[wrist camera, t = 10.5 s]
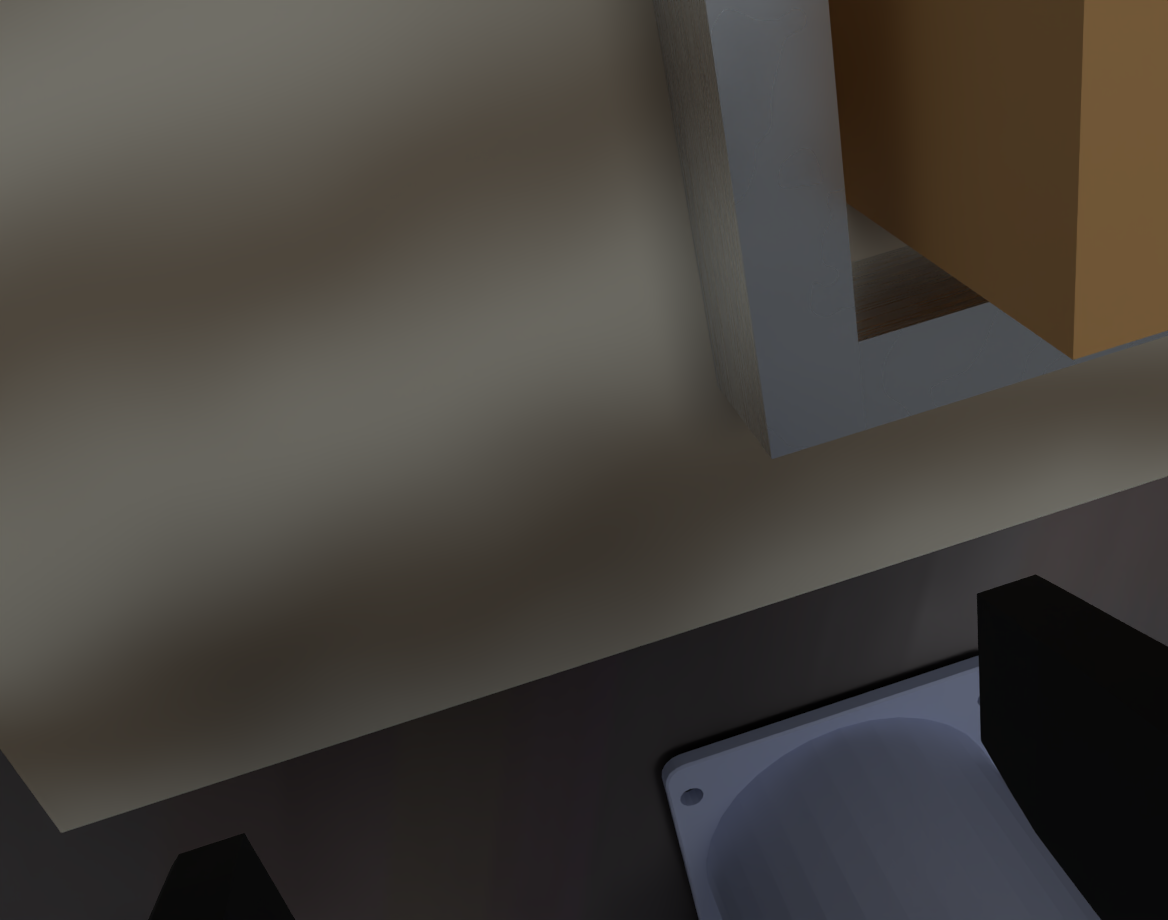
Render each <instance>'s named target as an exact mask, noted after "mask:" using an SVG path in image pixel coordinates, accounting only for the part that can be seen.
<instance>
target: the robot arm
mask: <svg viewBox="0 0 1168 920" xmlns="http://www.w3.org/2000/svg"><path fill="white" fill-rule="evenodd" d="M977 614H978V653H979V655H978V656H975V657H972V658H969V659H966V660H963V661H960V662H957V663H954V664H951V665H948V666H945V667H942V668H939V669H936V670H933V671H930V672H927V673H924V674H921V675H918V676H915V677H912V678H909V679H906V680H903V681H900V682H897V683H894V684H891V685H888V686H885V687H881V688H878V689H875V690H872V691H869V692H866V693H863V694H860V695H857V696H854V697H851V698H848V699H845V700H842V701H839V702H836V703H833V704H830V705H827V706H824V707H821V708H818V709H815V710H812V711H809V712H806V713H803V714H800V715H797V716H794V717H791V718H788V719H785V720H782V721H779V722H776V723H773V724H770V725H767V726H764V727H761V728H758V729H755V730H752V731H749V732H746V733H743V734H740V735H737V736H734V737H731V738H728V739H725V740H721V741H718V742H715V743H712V744H709V745H706V746H703V747H700V748H697V749H694V750H691V751H688V752H685V753H682V754H679V755H677V756H675V757H673V758H672V759H671V760H669V761H668V762H667V763H666V764H665V766H664V768H663V770H662V780H663V784H664V788H665V791H666V795H667V799H668V803H669V807H670V811H671V815H672V818H673V822H674V826H675V830H676V834H677V838H678V842H679V846H680V849H681V853H682V857H683V861H684V865H685V869H686V873H687V876H688V880H689V884H690V888H691V892H692V896H693V900H694V904H695V907H696V911H697V915H698V919H699V920H1168V647H1167V646H1165V645H1164V644H1162V643H1160V642H1158V641H1156V640H1154V639H1153V638H1151V637H1149V636H1147V635H1145V634H1143V633H1142V632H1140V631H1138V630H1136V629H1134V628H1132V627H1131V626H1129V625H1127V624H1125V623H1123V622H1121V621H1120V620H1118V619H1116V618H1114V617H1112V616H1111V615H1109V614H1107V613H1105V612H1103V611H1102V610H1100V609H1098V608H1096V607H1094V606H1093V605H1091V604H1089V603H1087V602H1085V601H1084V600H1082V599H1080V598H1078V597H1076V596H1075V595H1073V594H1071V593H1069V592H1067V591H1065V590H1064V589H1062V588H1060V587H1058V586H1056V585H1054V584H1052V583H1051V582H1049V581H1047V580H1045V579H1043V578H1041V577H1039V576H1037V575H1033V576H1030V577H1027V578H1024V579H1021V580H1018V581H1015V582H1011V583H1008V584H1005V585H1002V586H999V587H996V588H993V589H990V590H987V591H984V592H981V593H978V594H977ZM693 788H694V789H693ZM689 789H692V790H690V791H688V792H685V791H687V790H689ZM148 920H295V919H294V917H293V915H292V914H291V912H290V910H289V909H288V907H287V905H286V903H285V902H284V900H283V898H282V897H281V895H280V893H279V892H278V890H277V888H276V886H275V885H274V883H273V881H272V880H271V878H270V876H269V875H268V873H267V871H266V869H265V868H264V866H263V864H262V863H261V861H260V859H259V857H258V856H257V854H256V852H255V851H254V849H253V847H252V846H251V844H250V842H249V840H248V839H247V837H246V835H245V834H244V833H243V834H240V835H237V836H234V837H231V838H228V839H225V840H222V841H219V842H216V843H213V844H209V845H206V846H203V847H200V848H197V849H194V850H191V851H188V852H185V853H182V854H179V855H178V857H177V859H176V860H175V862H174V864H173V865H172V867H171V869H170V872H169V874H168V876H167V878H166V881H165V883H164V885H163V887H162V890H161V892H160V894H159V897H158V899H157V901H156V903H155V906H154V908H153V910H152V913H151V915H150V917H149V919H148Z"/></svg>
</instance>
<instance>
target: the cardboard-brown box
mask: <svg viewBox="0 0 1168 920" xmlns="http://www.w3.org/2000/svg"><path fill="white" fill-rule="evenodd" d="M828 1H829V13H830V24H831V35H832V47H833V58H834V70H835V81H836V92H837V104H838V115H839V127H840V138H841V149H842V161H843V172H844V184H845V195H846V203H847V204H849V205H850V206H852V207H853V208H855V209H856V210H858V211H859V212H860V213H862V214H863V215H865V216H866V217H868V218H869V219H871V220H872V221H873V222H875V223H876V224H878V225H879V226H881V227H882V228H883V229H885V230H886V231H888V232H889V233H891V234H892V235H894V236H895V237H896V238H898V239H899V240H901V241H902V242H904V243H905V244H907V245H908V246H909V247H911V248H912V249H914V250H915V251H917V252H918V253H920V254H921V255H922V256H924V257H925V258H927V259H928V260H930V261H931V262H932V263H934V264H935V265H937V266H938V267H940V268H941V269H943V270H944V271H945V272H947V273H948V274H950V275H951V276H953V277H954V278H956V279H957V280H958V281H960V282H961V283H963V284H964V285H966V286H967V287H969V288H970V289H971V290H973V291H974V292H976V293H977V294H979V295H980V296H981V297H983V298H984V299H986V300H987V301H989V302H990V303H992V304H993V305H994V306H996V307H997V308H999V309H1000V310H1002V311H1003V312H1005V313H1006V314H1007V315H1009V316H1010V317H1012V318H1013V319H1015V320H1016V321H1018V322H1019V323H1020V324H1022V325H1023V326H1025V327H1026V328H1028V329H1029V330H1030V331H1032V332H1033V333H1035V334H1036V335H1038V336H1039V337H1041V338H1042V339H1043V340H1045V341H1046V342H1048V343H1049V344H1051V345H1052V346H1054V347H1055V348H1056V349H1058V350H1059V351H1061V352H1062V353H1064V354H1065V355H1067V356H1068V357H1069V358H1071V359H1072V360H1075V359H1078V358H1081V357H1084V356H1087V355H1091V354H1094V353H1097V352H1100V351H1103V350H1107V349H1110V348H1113V347H1116V346H1120V345H1123V344H1126V343H1129V342H1132V341H1136V340H1139V339H1142V338H1145V337H1148V336H1152V335H1155V334H1158V333H1161V332H1164V331H1168V0H828Z"/></svg>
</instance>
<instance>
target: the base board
mask: <svg viewBox="0 0 1168 920" xmlns="http://www.w3.org/2000/svg"><path fill="white" fill-rule="evenodd" d="M828 3H829V1H828ZM829 15H830V13H829ZM830 26H831V24H830ZM831 37H832V35H831ZM832 49H833V47H832ZM833 60H834V58H833ZM834 72H835V70H834ZM835 83H836V81H835ZM836 94H837V92H836ZM837 106H838V104H837ZM838 117H839V115H838ZM839 129H840V127H839ZM840 140H841V138H840ZM841 152H842V149H841ZM842 163H843V161H842ZM843 174H844V172H843ZM844 186H845V184H844ZM845 197H846V195H845ZM846 209H847V220H848V231H849V243H850V254H851V262H855V261H858V260H861V259H865V258H868V257H871V256H875V255H878V254H881V253H885V252H888V251H891V250H895V249H898V248H901V247H905V246H908V245H907V244H905V243H904V242H902V241H901V240H899V239H898V238H896V237H895V236H894V235H892V234H891V233H889V232H888V231H886V230H885V229H883V228H882V227H881V226H879V225H878V224H876V223H875V222H873V221H872V220H871V219H869V218H868V217H866V216H865V215H863V214H862V213H860V212H859V211H858V210H856V209H855V208H853V207H852V206H850V205H849V204H847V203H846ZM1167 476H1168V336H1166V337H1162V338H1159V339H1156V340H1153V341H1150V342H1146V343H1143V344H1140V345H1137V346H1133V347H1130V348H1127V349H1124V350H1121V351H1117V352H1114V353H1111V354H1108V355H1105V356H1101V357H1098V358H1095V359H1092V360H1089V361H1085V362H1082V363H1079V364H1076V365H1073V366H1069V367H1066V368H1063V369H1060V370H1057V371H1053V372H1050V373H1047V374H1044V375H1040V376H1037V377H1034V378H1031V379H1028V380H1024V381H1021V382H1018V383H1015V384H1012V385H1008V386H1005V387H1002V388H999V389H996V390H992V391H989V392H986V393H983V394H980V395H976V396H973V397H970V398H967V399H963V400H960V401H957V402H954V403H951V404H947V405H944V406H941V407H938V408H935V409H931V410H928V411H925V412H922V413H919V414H915V415H912V416H909V417H906V418H903V419H899V420H896V421H893V422H890V423H887V424H883V425H880V426H877V427H874V428H870V429H867V430H864V431H861V432H858V433H854V434H851V435H848V436H845V437H842V438H838V439H835V440H832V441H829V442H826V443H822V444H819V445H816V446H813V447H810V448H806V449H803V450H800V451H797V452H793V453H790V454H787V455H784V456H781V457H777V458H774V459H771V458H770V456H769V455H768V454H767V452H766V451H765V450H764V448H763V447H762V445H761V444H760V443H759V441H758V440H757V439H756V437H755V436H754V435H753V433H752V432H751V431H750V429H749V428H748V427H747V425H746V424H745V423H744V421H743V420H742V418H741V417H740V416H739V414H738V413H737V412H736V410H735V409H734V408H733V406H732V405H731V404H730V402H729V401H728V400H727V398H726V397H725V396H724V394H723V393H722V391H721V390H720V389H719V387H718V385H717V379H716V373H715V367H714V361H713V355H712V349H711V344H710V338H709V332H708V326H707V320H706V314H705V308H704V302H703V296H702V290H701V285H700V279H699V273H698V267H697V261H696V255H695V249H694V243H693V237H692V231H691V226H690V220H689V214H688V208H687V202H686V196H685V190H684V184H683V178H682V173H681V167H680V161H679V155H678V149H677V143H676V137H675V131H674V125H673V119H672V114H671V108H670V102H669V96H668V90H667V84H666V78H665V72H664V66H663V60H662V55H661V49H660V43H659V37H658V31H657V25H656V19H655V13H654V7H653V1H652V0H0V749H1V751H2V752H3V753H4V755H5V756H6V758H7V759H8V760H9V762H10V763H11V764H12V766H13V767H14V769H15V770H16V771H17V773H18V774H19V775H20V777H21V778H22V780H23V781H24V782H25V784H26V785H27V786H28V788H29V789H30V791H31V792H32V793H33V795H34V796H35V797H36V799H37V800H38V802H39V803H40V804H41V806H42V807H43V808H44V810H45V811H46V813H47V814H48V815H49V817H50V818H51V819H52V821H53V822H54V824H55V825H56V826H57V828H58V829H59V831H60V832H61V833H62V832H66V831H69V830H72V829H75V828H78V827H81V826H84V825H87V824H90V823H93V822H97V821H100V820H103V819H106V818H109V817H112V816H115V815H118V814H121V813H124V812H128V811H131V810H134V809H137V808H140V807H143V806H146V805H149V804H152V803H155V802H159V801H162V800H165V799H168V798H171V797H174V796H177V795H180V794H183V793H186V792H190V791H193V790H196V789H199V788H202V787H205V786H208V785H211V784H214V783H217V782H221V781H224V780H227V779H230V778H233V777H236V776H239V775H242V774H245V773H249V772H252V771H255V770H258V769H261V768H264V767H267V766H270V765H273V764H276V763H280V762H283V761H286V760H289V759H292V758H295V757H298V756H301V755H304V754H307V753H311V752H314V751H317V750H320V749H323V748H326V747H329V746H332V745H335V744H338V743H342V742H345V741H348V740H351V739H354V738H357V737H360V736H363V735H366V734H369V733H373V732H376V731H379V730H382V729H385V728H388V727H391V726H394V725H397V724H400V723H404V722H407V721H410V720H413V719H416V718H419V717H422V716H425V715H428V714H431V713H435V712H438V711H441V710H444V709H447V708H450V707H453V706H456V705H459V704H463V703H466V702H469V701H472V700H475V699H478V698H481V697H484V696H487V695H490V694H494V693H497V692H500V691H503V690H506V689H509V688H512V687H515V686H518V685H521V684H525V683H528V682H531V681H534V680H537V679H540V678H543V677H546V676H549V675H552V674H556V673H559V672H562V671H565V670H568V669H571V668H574V667H577V666H580V665H583V664H587V663H590V662H593V661H596V660H599V659H602V658H605V657H608V656H611V655H614V654H618V653H621V652H624V651H627V650H630V649H633V648H636V647H639V646H642V645H645V644H649V643H652V642H655V641H658V640H661V639H664V638H667V637H670V636H673V635H677V634H680V633H683V632H686V631H689V630H692V629H695V628H698V627H701V626H704V625H708V624H711V623H714V622H717V621H720V620H723V619H726V618H729V617H732V616H735V615H739V614H742V613H745V612H748V611H751V610H754V609H757V608H760V607H763V606H766V605H770V604H773V603H776V602H779V601H782V600H785V599H788V598H791V597H794V596H797V595H801V594H804V593H807V592H810V591H813V590H816V589H819V588H822V587H825V586H828V585H832V584H835V583H838V582H841V581H844V580H847V579H850V578H853V577H856V576H859V575H863V574H866V573H869V572H872V571H875V570H878V569H881V568H884V567H887V566H891V565H894V564H897V563H900V562H903V561H906V560H909V559H912V558H915V557H918V556H922V555H925V554H928V553H931V552H934V551H937V550H940V549H943V548H946V547H949V546H953V545H956V544H959V543H962V542H965V541H968V540H971V539H974V538H977V537H980V536H984V535H987V534H990V533H993V532H996V531H999V530H1002V529H1005V528H1008V527H1011V526H1015V525H1018V524H1021V523H1024V522H1027V521H1030V520H1033V519H1036V518H1039V517H1042V516H1046V515H1049V514H1052V513H1055V512H1058V511H1061V510H1064V509H1067V508H1070V507H1074V506H1077V505H1080V504H1083V503H1086V502H1089V501H1092V500H1095V499H1098V498H1101V497H1105V496H1108V495H1111V494H1114V493H1117V492H1120V491H1123V490H1126V489H1129V488H1132V487H1136V486H1139V485H1142V484H1145V483H1148V482H1151V481H1154V480H1157V479H1160V478H1163V477H1167Z"/></svg>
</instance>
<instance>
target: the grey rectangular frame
mask: <svg viewBox="0 0 1168 920" xmlns="http://www.w3.org/2000/svg"><path fill="white" fill-rule="evenodd" d="M652 1H653V7H654V13H655V19H656V25H657V31H658V37H659V43H660V49H661V55H662V60H663V66H664V72H665V78H666V84H667V90H668V96H669V102H670V108H671V114H672V119H673V125H674V131H675V137H676V143H677V149H678V155H679V161H680V167H681V173H682V178H683V184H684V190H685V196H686V202H687V208H688V214H689V220H690V226H691V231H692V237H693V243H694V249H695V255H696V261H697V267H698V273H699V279H700V285H701V290H702V296H703V302H704V308H705V314H706V320H707V326H708V332H709V338H710V344H711V349H712V355H713V361H714V367H715V373H716V379H717V385H718V387H719V389H720V390H721V391H722V393H723V394H724V396H725V397H726V398H727V400H728V401H729V402H730V404H731V405H732V406H733V408H734V409H735V410H736V412H737V413H738V414H739V416H740V417H741V418H742V420H743V421H744V423H745V424H746V425H747V427H748V428H749V429H750V431H751V432H752V433H753V435H754V436H755V437H756V439H757V440H758V441H759V443H760V444H761V445H762V447H763V448H764V450H765V451H766V452H767V454H768V455H769V456H770V458H771V459H774V458H777V457H781V456H784V455H787V454H790V453H793V452H797V451H800V450H803V449H806V448H810V447H813V446H816V445H819V444H822V443H826V442H829V441H832V440H835V439H838V438H842V437H845V436H848V435H851V434H854V433H858V432H861V431H864V430H867V429H870V428H874V427H877V426H880V425H883V424H887V423H890V422H893V421H896V420H899V419H903V418H906V417H909V416H912V415H915V414H919V413H922V412H925V411H928V410H931V409H935V408H938V407H941V406H944V405H947V404H951V403H954V402H957V401H960V400H963V399H967V398H970V397H973V396H976V395H980V394H983V393H986V392H989V391H992V390H996V389H999V388H1002V387H1005V386H1008V385H1012V384H1015V383H1018V382H1021V381H1024V380H1028V379H1031V378H1034V377H1037V376H1040V375H1044V374H1047V373H1050V372H1053V371H1057V370H1060V369H1063V368H1066V367H1069V366H1073V365H1076V364H1079V363H1082V362H1085V361H1089V360H1092V359H1095V358H1098V357H1101V356H1105V355H1108V354H1111V353H1114V352H1117V351H1121V350H1124V349H1127V348H1130V347H1133V346H1137V345H1140V344H1143V343H1146V342H1150V341H1153V340H1156V339H1159V338H1162V337H1166V336H1168V331H1164V332H1161V333H1158V334H1155V335H1152V336H1148V337H1145V338H1142V339H1139V340H1136V341H1132V342H1129V343H1126V344H1123V345H1120V346H1116V347H1113V348H1110V349H1107V350H1103V351H1100V352H1097V353H1094V354H1091V355H1087V356H1084V357H1081V358H1078V359H1075V360H1072V359H1071V358H1069V357H1068V356H1067V355H1065V354H1064V353H1062V352H1061V351H1059V350H1058V349H1056V348H1055V347H1054V346H1052V345H1051V344H1049V343H1048V342H1046V341H1045V340H1043V339H1042V338H1041V337H1039V336H1038V335H1036V334H1035V333H1033V332H1032V331H1030V330H1029V329H1028V328H1026V327H1025V326H1023V325H1022V324H1020V323H1019V322H1018V321H1016V320H1015V319H1013V318H1012V317H1010V316H1009V315H1007V314H1006V313H1005V312H1003V311H1002V310H1000V309H999V308H997V307H996V306H994V305H993V304H992V303H990V302H989V301H987V300H986V299H984V298H983V297H981V296H980V295H979V294H977V293H976V292H974V291H973V290H971V289H970V288H969V287H967V286H966V285H964V284H963V283H961V282H960V281H958V280H957V279H956V278H954V277H953V276H951V275H950V274H948V273H947V272H945V271H944V270H943V269H941V268H940V267H938V266H937V265H935V264H934V263H932V262H931V261H930V260H928V259H927V258H925V257H924V256H922V255H921V254H920V253H918V252H917V251H915V250H914V249H912V248H911V247H909V246H905V247H901V248H898V249H895V250H891V251H888V252H885V253H881V254H878V255H875V256H871V257H868V258H865V259H861V260H858V261H855V262H851V254H850V243H849V231H848V220H847V209H846V197H845V186H844V174H843V163H842V152H841V140H840V129H839V117H838V106H837V94H836V83H835V72H834V60H833V49H832V37H831V26H830V15H829V3H828V0H652Z"/></svg>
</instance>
